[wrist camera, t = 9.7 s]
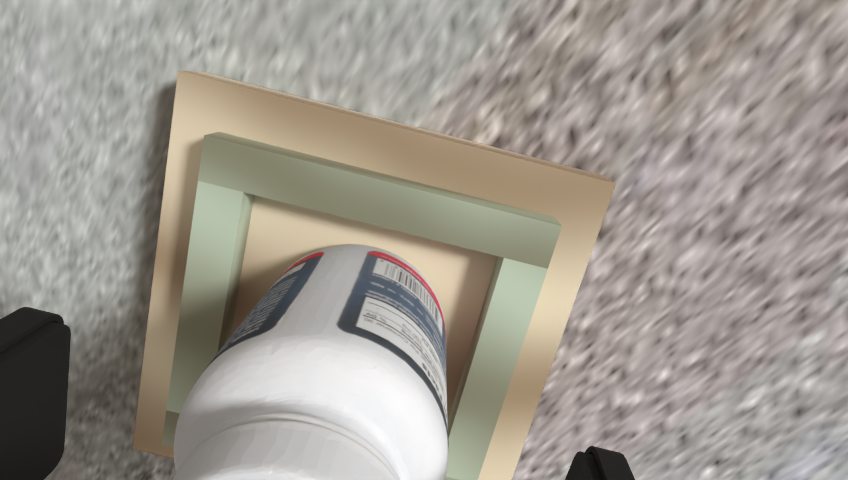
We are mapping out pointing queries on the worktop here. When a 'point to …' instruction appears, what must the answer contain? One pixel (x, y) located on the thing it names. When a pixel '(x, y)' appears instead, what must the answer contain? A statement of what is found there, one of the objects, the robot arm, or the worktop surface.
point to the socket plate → (373, 226)
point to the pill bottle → (326, 379)
